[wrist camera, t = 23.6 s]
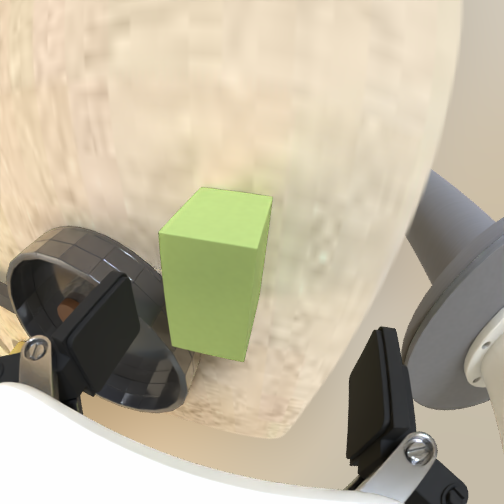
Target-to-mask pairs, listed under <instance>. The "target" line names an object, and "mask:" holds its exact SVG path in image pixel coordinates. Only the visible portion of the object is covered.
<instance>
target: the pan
mask: <svg viewBox="0 0 504 504" xmlns="http://www.w3.org/2000/svg"><path fill="white" fill-rule="evenodd" d="M113 270H115V271H119V272H122V273H126V274H127V276H128V278H129V279H130V280H131V285H132V290H133V295H134V300H135V304H136V309H137V313H138V318H139V322H140V331H139V334H138V335H137V337H136V338H135V340H134V341H133V342H132V344H131V345H130V347H129V348H128V350H127V351H126V353H125V354H124V356H123V357H122V359H121V360H120V362H119V363H118V365H117V367H116V368H115V370H114V371H113V373H112V374H111V376H110V377H109V379H108V380H107V382H106V383H105V385H104V387H103V388H102V390H101V391H100V392H96V394H95V395H97V396H98V397H100V398H102V399H104V400H107V401H109V402H111V403H114V404H116V405H119V406H121V407H124V408H128V409H132V410H136V411H140V412H149V413H162V412H169V411H173V410H175V409H176V408H178V407H179V406H181V405H183V403H184V401H185V399H186V396H187V394H188V392H189V389H190V386H191V383H192V381H193V378H194V375H195V373H196V370H197V367H198V365H199V362H200V357H201V353H198V352H194V351H190V350H186V349H182V348H178V347H174V346H172V343H171V337H170V330H169V324H168V317H167V310H166V302H165V294H164V286H163V277H162V276H161V275H160V274H158V273H157V272H156V271H155V270H154V269H153V268H152V267H151V266H150V265H149V264H148V263H146V262H145V261H144V260H143V259H141V258H140V257H139V256H138V255H136V254H135V253H134V252H132V251H131V250H129V249H128V248H126V247H125V246H123V245H122V244H120V243H118V242H116V241H115V240H113V239H111V238H109V237H107V236H105V235H102V234H100V233H97V232H95V231H92V230H89V229H85V228H81V227H72V226H66V227H58V228H55V229H52V230H50V231H48V232H46V233H44V234H43V235H42V236H41V237H39V238H38V239H37V240H35V241H34V242H33V243H32V244H30V245H29V246H28V247H27V248H26V249H24V250H23V251H22V252H21V253H20V254H19V255H17V256H16V257H15V258H14V259H13V260H12V261H11V262H10V264H9V268H8V272H7V276H6V278H7V290H8V294H9V298H10V301H11V304H12V307H13V310H14V312H15V314H16V316H17V318H18V320H19V321H20V323H21V325H22V327H23V328H24V330H25V331H26V333H27V334H28V336H29V337H30V338H31V337H33V336H36V335H42V336H45V337H47V338H48V339H49V340H51V339H52V337H51V335H52V334H53V333H54V332H55V331H56V329H57V328H58V327H59V326H60V325H61V324H62V323H63V322H62V320H61V319H60V317H59V315H58V311H57V308H58V306H59V305H60V303H61V302H62V301H63V300H64V299H66V298H70V299H73V300H75V301H77V302H79V303H81V302H82V301H83V300H84V299H85V298H86V297H87V296H88V294H89V293H90V292H91V291H92V290H93V289H94V288H95V287H96V286H97V285H98V284H99V283H100V282H101V281H102V280H103V279H104V278H105V277H106V276H107V275H108V274H109V273H110V272H111V271H113Z"/></svg>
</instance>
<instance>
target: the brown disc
mask: <svg viewBox="0 0 504 504" xmlns="http://www.w3.org/2000/svg"><path fill="white" fill-rule="evenodd" d="M79 304H80V303H79V302H77V301H75V300H73V299H70V298H66V299H64V300H63V301H62V302H61V303H60V305H59V306H58V308H57V311H58V315H59V317H60V319H61V320H62V322H64V320H65V319H66V318H67V317H68V316H69V315H70V314H71V313H72V312H73V311H74V309H75V308H76V307H77V306H78V305H79Z"/></svg>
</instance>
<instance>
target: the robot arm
mask: <svg viewBox="0 0 504 504" xmlns="http://www.w3.org/2000/svg"><path fill="white" fill-rule="evenodd" d="M139 331H140V322H139V318H138V313H137V309H136V304H135V300H134V295H133V290H132V285H131V280H130V279H129V278H128V276H127V274H126V273H122V272H119V271H115V270H113V271H111V272H110V273H109V274H108V275H107V276H106V277H105V278H104V279H103V280H102V281H101V282H100V283H99V284H98V285H97V286H96V287H95V288H94V289H93V290H92V291H91V292H90V293H89V294H88V296H87V297H86V298H85V299H84V300H83V301H82V302H81V303H80V304H79V305H78V306H77V307H76V308H75V309H74V311H73V312H72V313H71V314H70V315H69V316H68V317H67V318H66V319H65V320H64V322H63V323H62V324H61V325H60V326H59V327H58V328H57V329H56V331H55V332H54V333H53V334H52V335H51V337H52V339H51V340H49V339H48V338H47V337H45V336H42V335H36V336H33V337H31V338H29V339H28V340H27V341H26V342H25V343H24V344H23V346H22V348H21V352H19V353H15V354H10V355H6V356H2V357H0V504H466V503H467V500H468V490H467V487H466V486H465V484H464V483H463V482H462V481H461V480H460V479H458V478H457V477H456V476H455V475H454V474H453V473H452V472H451V471H449V470H448V469H447V468H446V467H445V466H444V465H443V464H442V463H441V462H440V461H438V460H437V459H436V457H437V451H438V450H437V445H436V443H435V441H434V439H433V438H432V437H431V436H430V435H428V434H426V433H424V432H416V423H415V414H414V405H413V397H412V390H411V383H410V377H409V371H408V368H407V366H406V365H402V359H401V353H400V348H399V342H398V337H397V332H396V329H395V328H388V327H379V329H378V330H374V331H373V332H372V335H371V336H370V338H369V340H368V343H367V344H366V346H365V348H364V350H363V352H362V354H361V356H360V358H359V360H358V361H357V363H356V365H355V367H354V369H353V371H352V372H351V375H350V378H349V410H348V434H347V451H346V458H347V459H350V466H358V474H359V475H358V476H357V477H356V478H355V479H354V480H353V481H352V482H351V483H350V484H349V485H348V486H347V487H346V488H345V489H343V490H339V489H328V488H316V487H307V486H298V485H292V484H285V483H278V482H272V481H266V480H261V479H256V478H251V477H245V476H241V475H237V474H233V473H229V472H225V471H221V470H217V469H213V468H210V467H206V466H203V465H200V464H196V463H193V462H190V461H187V460H184V459H181V458H178V457H175V456H172V455H169V454H167V453H164V452H161V451H159V450H156V449H154V448H151V447H149V446H146V445H144V444H141V443H139V442H136V441H134V440H132V439H130V438H128V437H125V436H123V435H121V434H119V433H117V432H115V431H112V430H111V429H109V428H106V427H105V426H102V425H101V424H98V423H97V422H95V421H93V420H91V419H89V418H87V417H86V416H84V415H83V411H82V405H81V399H80V395H81V393H82V392H85V393H87V394H89V395H91V396H93V397H94V395H95V394H96V392H100V391H101V390H102V388H103V387H104V385H105V383H106V382H107V380H108V379H109V377H110V376H111V374H112V373H113V371H114V370H115V368H116V367H117V365H118V363H119V362H120V360H121V359H122V357H123V356H124V354H125V353H126V351H127V350H128V348H129V347H130V345H131V344H132V342H133V341H134V340H135V338H136V337H137V335H138V334H139ZM464 372H465V375H466V378H467V381H468V382H469V383H470V384H471V385H473V386H475V387H482V388H483V387H486V388H487V391H488V394H489V397H490V401H491V404H492V407H493V411H494V414H495V418H496V422H497V426H498V430H499V434H500V438H501V443H502V447H503V452H504V307H503V308H502V309H501V310H500V311H499V312H498V313H497V314H496V315H495V316H494V317H493V318H492V319H491V320H490V321H489V322H488V323H487V325H486V326H485V327H484V328H483V329H482V330H481V332H480V333H479V335H478V336H477V337H476V339H475V340H474V342H473V344H472V345H471V347H470V349H469V351H468V353H467V355H466V358H465V362H464Z"/></svg>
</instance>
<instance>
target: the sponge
mask: <svg viewBox="0 0 504 504" xmlns="http://www.w3.org/2000/svg"><path fill="white" fill-rule="evenodd" d="M272 199H273V197H271V196H264V195H257V194H250V193H243V192H236V191H229V190H221V189H213V188H205V187H201V188H200V189H199V190H198V191H197V192H196V193H195V194H194V195H193V196H192V197H191V198H190V199H189V200H188V201H187V202H186V203H185V204H184V205H183V206H182V207H181V209H180V210H179V211H178V212H177V213H176V214H175V215H174V216H173V217H172V218H171V219H170V220H169V221H168V222H167V223H166V224H165V226H164V227H163V228H162V229H161V230H160V231H159V232H158V235H159V247H160V258H161V268H162V277H163V286H164V294H165V302H166V310H167V317H168V324H169V330H170V337H171V343H172V346H174V347H178V348H182V349H186V350H190V351H194V352H198V353H203V354H207V355H211V356H216V357H221V358H225V359H230V360H235V361H240V362H244V359H245V355H246V351H247V347H248V343H249V339H250V334H251V330H252V326H253V322H254V317H255V313H256V309H257V304H258V300H259V295H260V288H261V281H262V274H263V267H264V259H265V252H266V245H267V237H268V230H269V222H270V215H271V207H272Z"/></svg>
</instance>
